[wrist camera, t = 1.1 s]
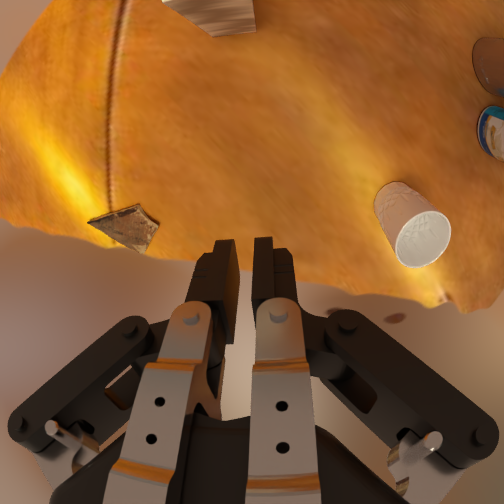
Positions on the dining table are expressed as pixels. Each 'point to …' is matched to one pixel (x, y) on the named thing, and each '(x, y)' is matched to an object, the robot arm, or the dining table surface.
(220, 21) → the birch block
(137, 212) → the shard
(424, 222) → the white cup
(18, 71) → the dining table surface
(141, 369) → the robot arm
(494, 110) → the beverage bottle
